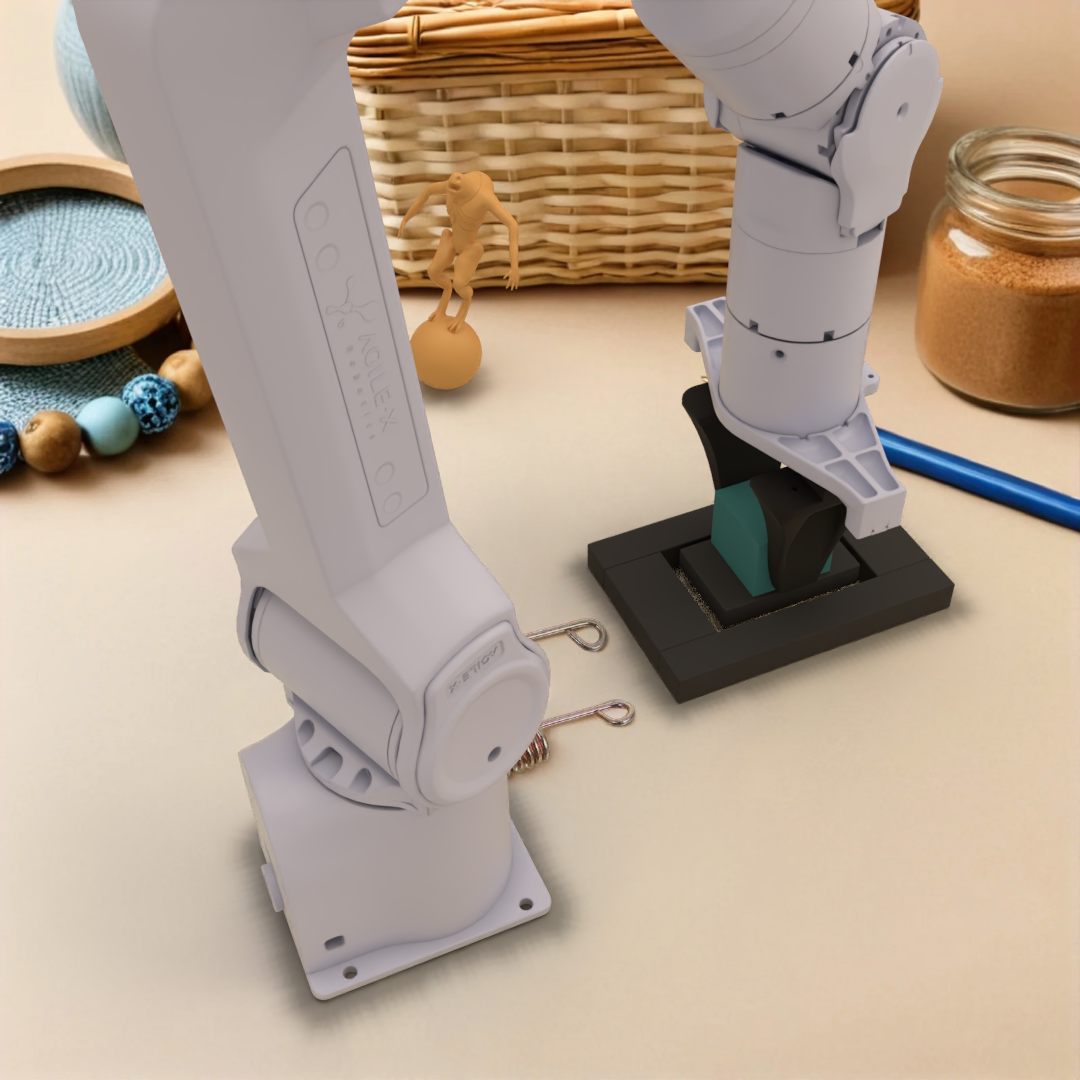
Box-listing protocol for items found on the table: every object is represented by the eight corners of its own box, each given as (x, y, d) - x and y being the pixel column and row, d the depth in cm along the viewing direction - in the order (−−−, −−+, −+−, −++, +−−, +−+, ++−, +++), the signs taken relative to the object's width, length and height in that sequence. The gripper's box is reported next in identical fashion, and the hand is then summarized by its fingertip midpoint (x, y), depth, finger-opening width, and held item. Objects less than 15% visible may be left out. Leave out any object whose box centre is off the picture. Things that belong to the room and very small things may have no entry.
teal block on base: (723, 629, 65) (730, 559, 62) (678, 567, 68) (682, 497, 65) (857, 583, 67) (870, 512, 64) (808, 524, 70) (817, 454, 67)
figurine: (368, 370, 81) (343, 177, 72) (442, 321, 84) (426, 131, 76) (479, 429, 77) (466, 231, 68) (552, 375, 80) (548, 180, 72)
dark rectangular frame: (678, 704, 63) (679, 681, 62) (587, 566, 69) (586, 543, 68) (949, 607, 67) (955, 584, 66) (840, 484, 73) (843, 461, 72)
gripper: (996, 376, 53) (935, 629, 62) (792, 192, 63) (766, 435, 72) (829, 427, 51) (792, 681, 61) (646, 230, 61) (639, 475, 70)
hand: (769, 551), depth 66 cm, fingers closed on teal block on base, 4 cm apart
